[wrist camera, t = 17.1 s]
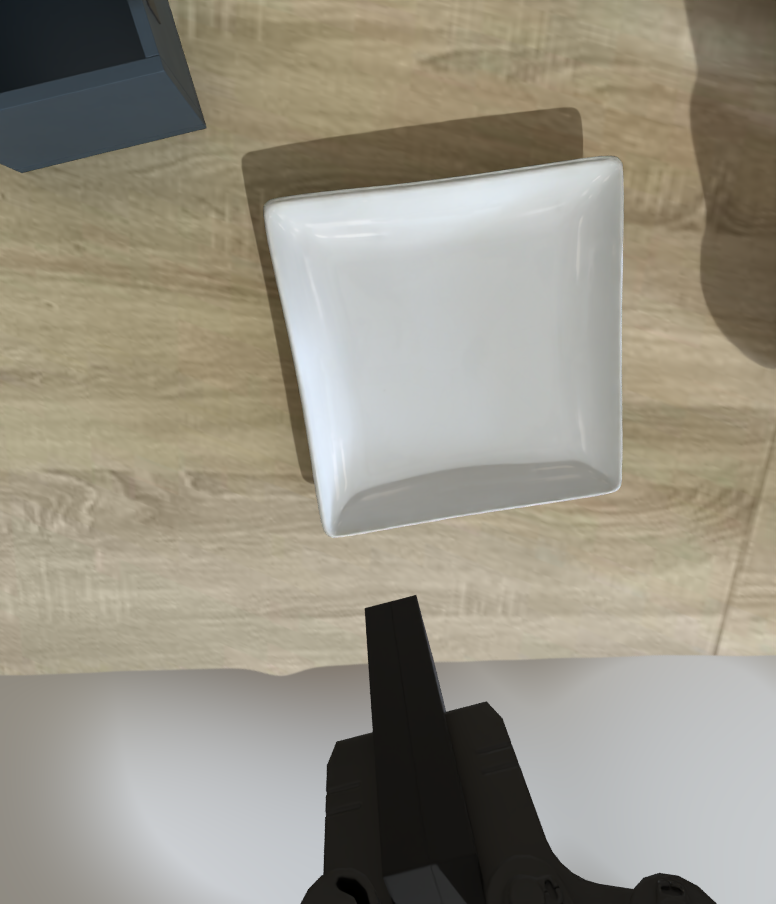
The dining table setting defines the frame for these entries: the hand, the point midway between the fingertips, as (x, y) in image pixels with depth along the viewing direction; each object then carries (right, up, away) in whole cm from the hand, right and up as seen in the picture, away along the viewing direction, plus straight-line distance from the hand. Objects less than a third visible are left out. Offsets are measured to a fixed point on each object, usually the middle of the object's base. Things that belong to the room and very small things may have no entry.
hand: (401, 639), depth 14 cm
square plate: (+5, +14, +29) cm, 32 cm away
